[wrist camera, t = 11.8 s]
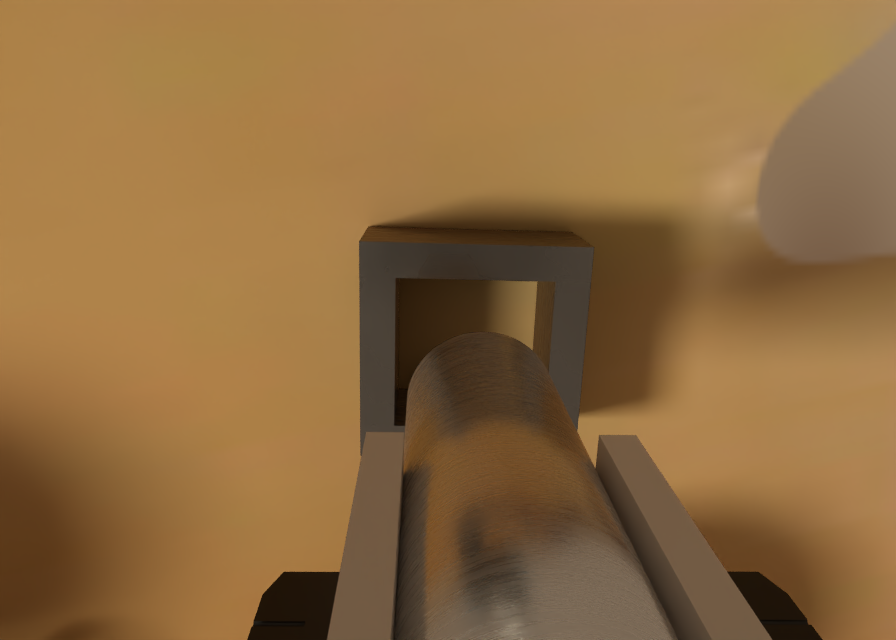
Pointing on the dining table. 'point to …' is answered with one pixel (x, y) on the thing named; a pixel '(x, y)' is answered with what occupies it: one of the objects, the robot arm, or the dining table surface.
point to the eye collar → (470, 258)
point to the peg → (508, 510)
